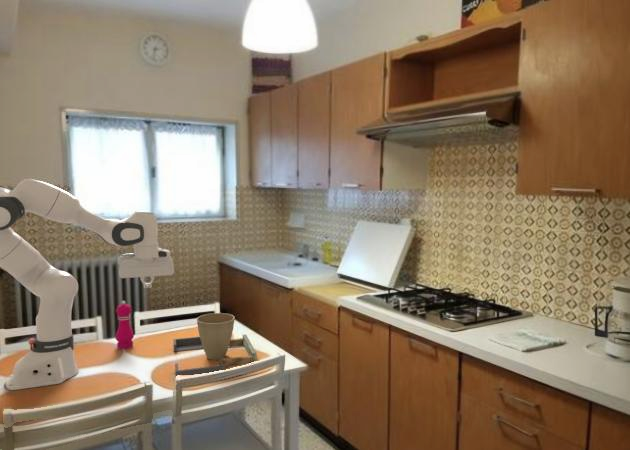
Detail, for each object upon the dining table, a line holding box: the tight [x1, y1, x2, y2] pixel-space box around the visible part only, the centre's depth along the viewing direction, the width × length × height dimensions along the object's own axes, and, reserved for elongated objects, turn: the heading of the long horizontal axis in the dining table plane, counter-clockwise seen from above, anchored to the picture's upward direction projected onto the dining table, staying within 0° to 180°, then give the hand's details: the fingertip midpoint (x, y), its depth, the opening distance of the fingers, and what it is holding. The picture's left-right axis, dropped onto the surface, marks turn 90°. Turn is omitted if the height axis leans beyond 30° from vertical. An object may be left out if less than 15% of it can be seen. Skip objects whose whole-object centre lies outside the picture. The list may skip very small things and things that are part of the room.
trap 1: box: [173, 336, 204, 353], centre depth 196 cm, size 17×8×3 cm, turn 108°
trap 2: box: [174, 358, 225, 377], centre depth 169 cm, size 17×8×3 cm, turn 108°
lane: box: [222, 334, 257, 368], centre depth 187 cm, size 13×24×4 cm, turn 18°
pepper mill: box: [115, 300, 135, 350], centre depth 196 cm, size 7×7×20 cm
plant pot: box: [196, 312, 235, 361], centre depth 185 cm, size 15×15×16 cm
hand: (147, 287), depth 179 cm, fingers closed
